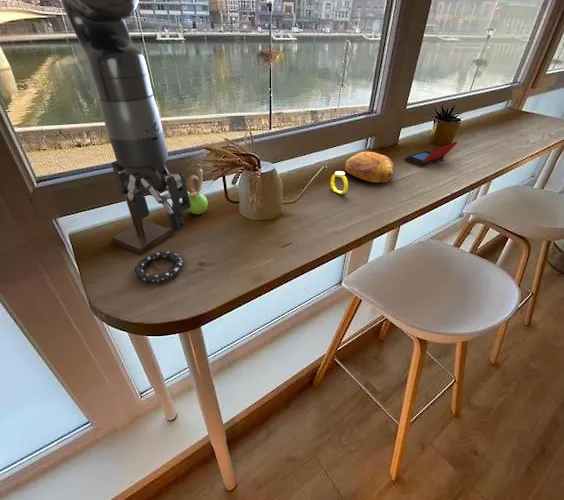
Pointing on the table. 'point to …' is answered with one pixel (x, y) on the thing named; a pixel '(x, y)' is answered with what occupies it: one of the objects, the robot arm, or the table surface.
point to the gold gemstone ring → (342, 175)
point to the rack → (140, 233)
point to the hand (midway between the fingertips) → (160, 223)
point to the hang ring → (163, 277)
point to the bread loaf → (370, 167)
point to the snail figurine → (196, 193)
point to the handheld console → (430, 155)
